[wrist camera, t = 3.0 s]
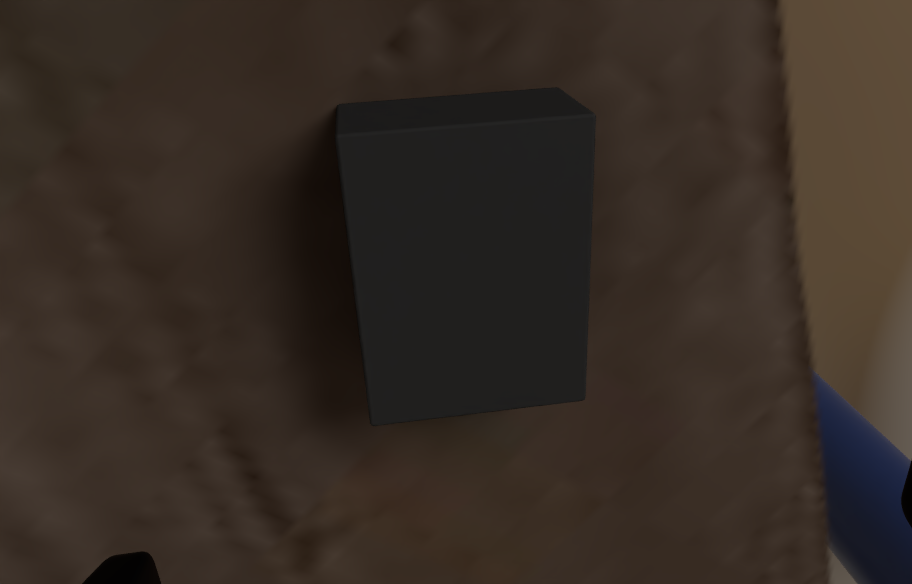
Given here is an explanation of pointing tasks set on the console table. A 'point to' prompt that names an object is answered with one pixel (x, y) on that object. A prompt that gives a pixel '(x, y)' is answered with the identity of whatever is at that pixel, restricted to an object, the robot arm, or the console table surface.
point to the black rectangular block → (469, 249)
